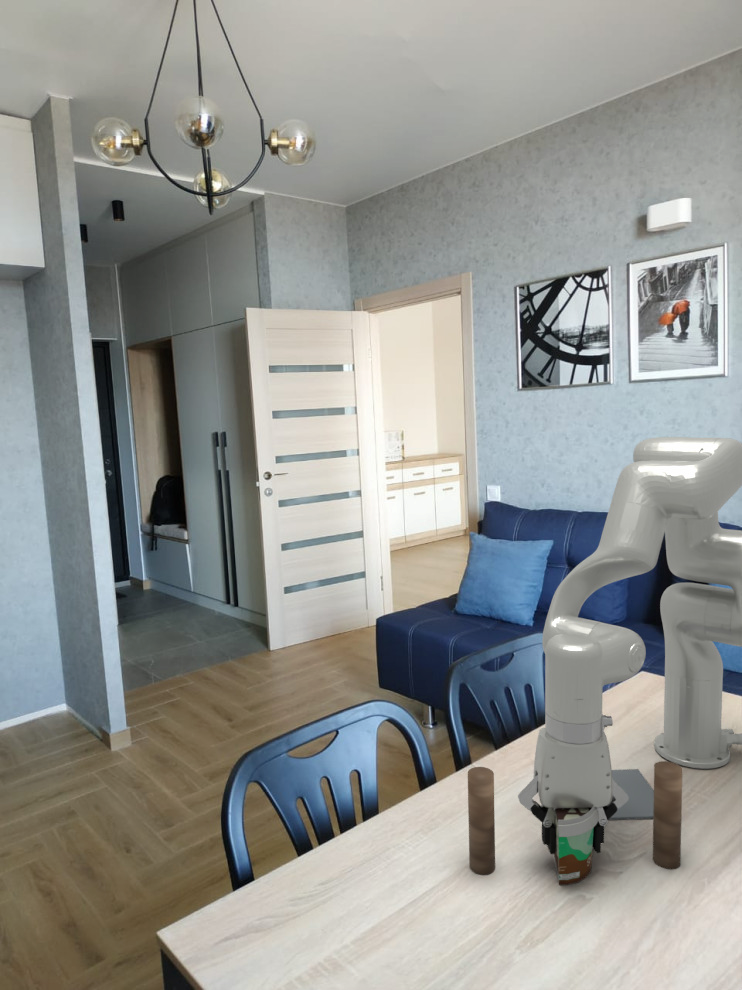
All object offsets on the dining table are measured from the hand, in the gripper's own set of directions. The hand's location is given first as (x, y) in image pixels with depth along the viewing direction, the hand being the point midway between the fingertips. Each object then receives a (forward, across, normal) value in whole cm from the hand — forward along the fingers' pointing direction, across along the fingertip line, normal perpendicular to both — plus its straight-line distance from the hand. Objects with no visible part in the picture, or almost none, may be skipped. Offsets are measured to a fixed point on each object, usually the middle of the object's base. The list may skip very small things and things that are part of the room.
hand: (572, 846), depth 98 cm
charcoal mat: (+3, -9, -17) cm, 20 cm away
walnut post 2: (+3, -13, 0) cm, 14 cm away
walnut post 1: (+3, +13, 0) cm, 13 cm away
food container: (+3, -1, 0) cm, 3 cm away
